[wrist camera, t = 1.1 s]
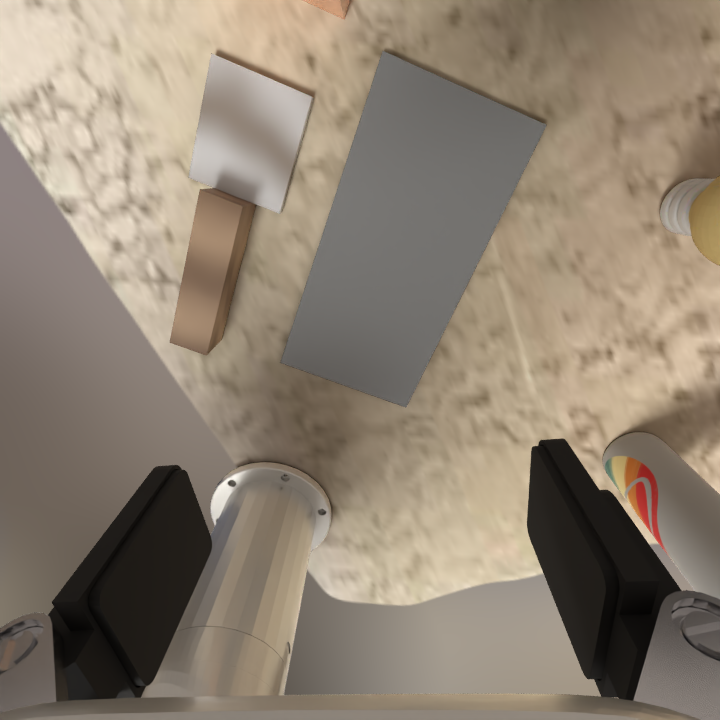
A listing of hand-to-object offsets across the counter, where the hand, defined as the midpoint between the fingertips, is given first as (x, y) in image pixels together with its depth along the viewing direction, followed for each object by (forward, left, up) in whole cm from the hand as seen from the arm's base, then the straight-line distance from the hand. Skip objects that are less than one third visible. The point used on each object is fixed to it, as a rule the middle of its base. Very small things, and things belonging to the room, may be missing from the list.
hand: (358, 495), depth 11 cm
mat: (+2, -1, -25) cm, 25 cm away
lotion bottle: (-7, -29, -25) cm, 39 cm away
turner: (0, +12, -25) cm, 27 cm away
